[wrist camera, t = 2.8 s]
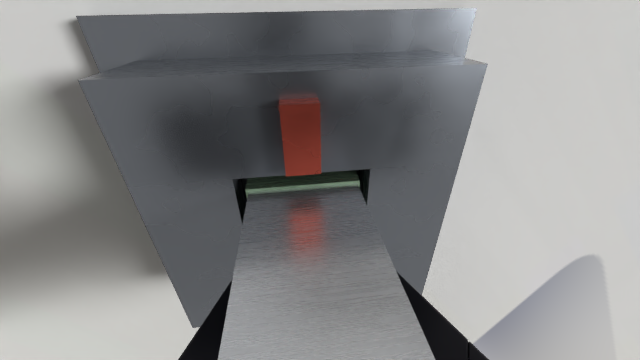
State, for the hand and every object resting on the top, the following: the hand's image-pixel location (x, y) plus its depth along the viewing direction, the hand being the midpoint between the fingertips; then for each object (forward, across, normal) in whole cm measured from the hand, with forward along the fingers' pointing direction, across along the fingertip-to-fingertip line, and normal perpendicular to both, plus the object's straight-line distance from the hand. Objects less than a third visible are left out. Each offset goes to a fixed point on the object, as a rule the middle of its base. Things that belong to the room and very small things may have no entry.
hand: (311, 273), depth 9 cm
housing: (+7, 0, 0) cm, 7 cm away
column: (+4, 0, 0) cm, 4 cm away
